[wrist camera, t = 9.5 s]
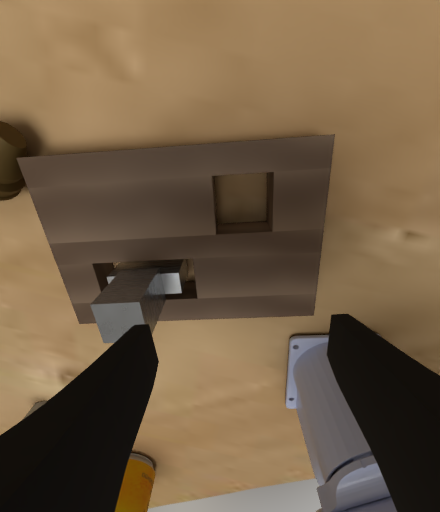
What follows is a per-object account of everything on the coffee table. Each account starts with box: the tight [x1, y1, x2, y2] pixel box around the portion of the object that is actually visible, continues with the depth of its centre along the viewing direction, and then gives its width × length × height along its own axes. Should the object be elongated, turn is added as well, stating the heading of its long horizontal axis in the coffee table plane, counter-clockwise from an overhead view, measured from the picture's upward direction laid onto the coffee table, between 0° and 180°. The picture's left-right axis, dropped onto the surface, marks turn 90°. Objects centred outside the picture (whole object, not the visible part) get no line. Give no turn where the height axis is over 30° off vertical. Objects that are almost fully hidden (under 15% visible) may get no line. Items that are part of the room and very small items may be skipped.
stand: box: [17, 134, 335, 324], centre depth 17 cm, size 12×18×2 cm, turn 94°
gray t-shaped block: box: [90, 259, 188, 343], centre depth 16 cm, size 3×5×7 cm, turn 94°
